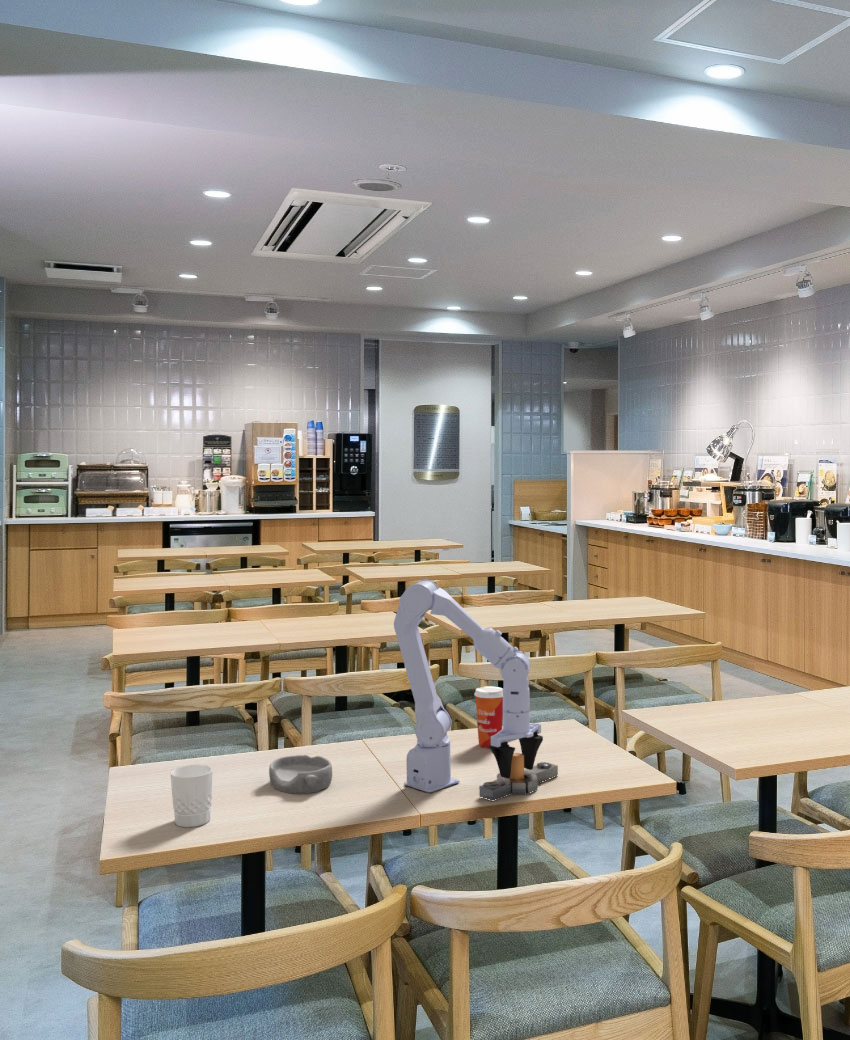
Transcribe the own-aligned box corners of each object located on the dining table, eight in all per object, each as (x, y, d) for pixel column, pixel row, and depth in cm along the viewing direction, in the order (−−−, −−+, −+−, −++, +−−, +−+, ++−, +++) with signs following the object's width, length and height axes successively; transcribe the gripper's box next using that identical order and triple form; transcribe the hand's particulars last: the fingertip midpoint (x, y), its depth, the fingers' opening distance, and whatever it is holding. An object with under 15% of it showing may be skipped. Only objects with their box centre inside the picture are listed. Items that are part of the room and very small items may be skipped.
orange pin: (517, 791, 192) (516, 758, 192) (506, 787, 195) (505, 755, 195) (527, 787, 195) (527, 755, 194) (516, 784, 197) (516, 752, 197)
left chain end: (501, 804, 185) (501, 790, 185) (470, 794, 191) (470, 781, 190) (544, 787, 195) (544, 774, 195) (514, 778, 201) (514, 766, 200)
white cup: (218, 813, 182) (216, 764, 181) (207, 828, 174) (205, 777, 173) (179, 813, 182) (177, 764, 182) (166, 828, 174) (165, 777, 174)
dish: (321, 798, 191) (321, 774, 190) (259, 794, 193) (258, 771, 193) (341, 775, 205) (341, 754, 205) (283, 772, 208) (282, 751, 207)
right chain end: (519, 797, 189) (519, 783, 189) (489, 788, 195) (489, 775, 195) (566, 778, 200) (566, 765, 200) (536, 770, 206) (536, 758, 206)
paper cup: (468, 744, 227) (467, 689, 226) (489, 738, 232) (489, 684, 231) (491, 751, 221) (490, 694, 220) (512, 745, 226) (511, 689, 226)
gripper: (508, 719, 186) (509, 785, 187) (552, 706, 196) (552, 768, 197) (482, 713, 191) (483, 777, 192) (526, 701, 201) (527, 762, 202)
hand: (516, 772), depth 195 cm, fingers open, 7 cm apart
